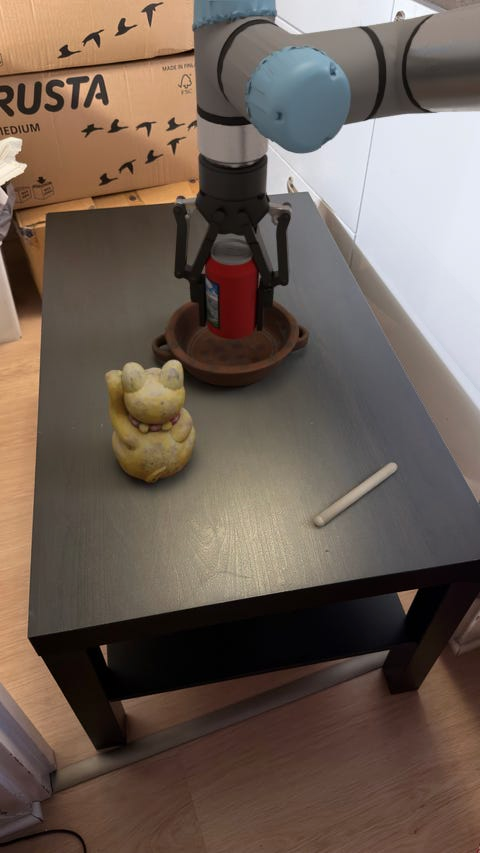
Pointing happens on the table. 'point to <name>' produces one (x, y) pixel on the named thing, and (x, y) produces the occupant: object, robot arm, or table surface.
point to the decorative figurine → (150, 420)
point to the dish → (229, 346)
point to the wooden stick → (355, 494)
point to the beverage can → (231, 289)
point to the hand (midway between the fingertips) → (231, 322)
